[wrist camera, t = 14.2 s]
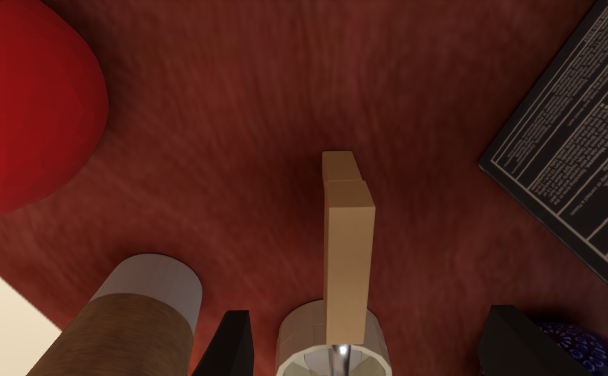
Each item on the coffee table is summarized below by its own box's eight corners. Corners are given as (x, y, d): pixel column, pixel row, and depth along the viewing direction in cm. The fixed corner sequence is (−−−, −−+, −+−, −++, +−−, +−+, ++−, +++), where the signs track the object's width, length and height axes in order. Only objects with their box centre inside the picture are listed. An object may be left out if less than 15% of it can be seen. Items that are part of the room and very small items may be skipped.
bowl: (396, 308, 25) (410, 354, 22) (361, 373, 29) (369, 421, 25) (291, 290, 24) (290, 335, 21) (269, 360, 28) (265, 407, 24)
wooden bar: (357, 358, 26) (373, 451, 21) (304, 360, 26) (305, 452, 21) (374, 149, 19) (404, 206, 14) (299, 151, 19) (299, 208, 14)
